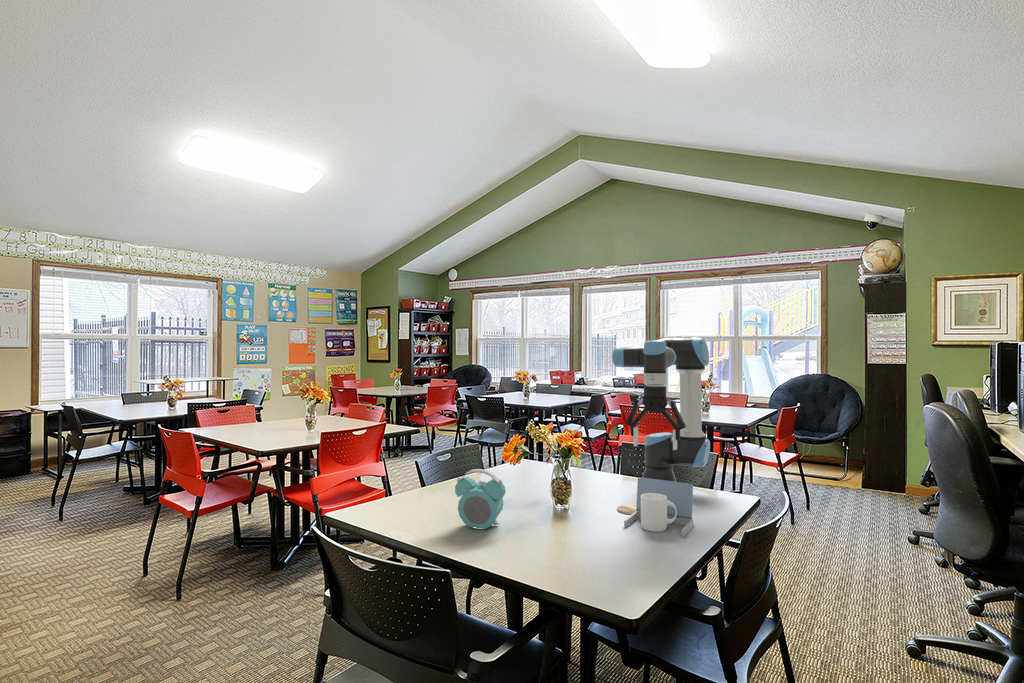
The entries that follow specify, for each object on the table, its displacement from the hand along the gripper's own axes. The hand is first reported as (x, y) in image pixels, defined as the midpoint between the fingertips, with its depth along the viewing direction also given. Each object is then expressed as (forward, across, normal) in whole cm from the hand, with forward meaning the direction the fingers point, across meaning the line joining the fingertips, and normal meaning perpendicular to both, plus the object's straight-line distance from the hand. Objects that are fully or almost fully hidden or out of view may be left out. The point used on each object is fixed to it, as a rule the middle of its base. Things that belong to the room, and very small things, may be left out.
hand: (655, 447), depth 187 cm
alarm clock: (+27, -50, -32) cm, 65 cm away
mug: (+27, +2, -2) cm, 27 cm away
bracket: (+27, +1, 0) cm, 27 cm away
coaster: (+26, -13, +13) cm, 32 cm away
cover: (+18, +1, +6) cm, 19 cm away
